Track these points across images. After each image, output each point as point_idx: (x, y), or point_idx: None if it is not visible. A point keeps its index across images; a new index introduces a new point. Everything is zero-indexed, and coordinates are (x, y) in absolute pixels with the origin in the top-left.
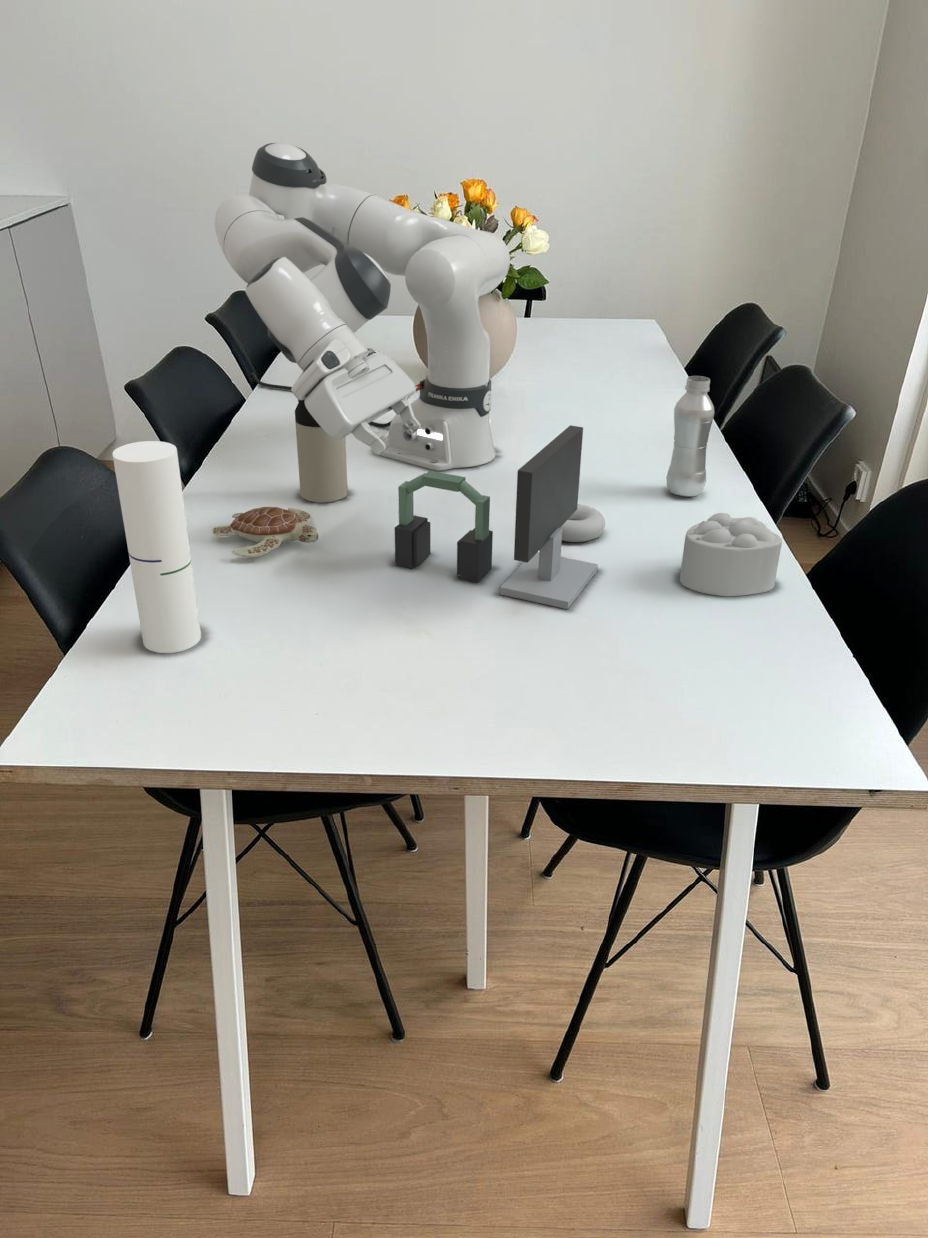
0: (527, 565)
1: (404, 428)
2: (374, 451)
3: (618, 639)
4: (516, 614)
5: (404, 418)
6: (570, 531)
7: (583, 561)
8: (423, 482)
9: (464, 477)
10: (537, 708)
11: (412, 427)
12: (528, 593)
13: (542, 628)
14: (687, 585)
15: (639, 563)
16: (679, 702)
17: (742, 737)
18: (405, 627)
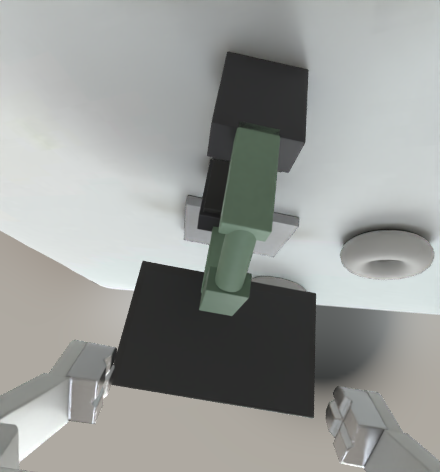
0: None
1: (351, 412)
2: (64, 351)
3: (156, 248)
4: (153, 206)
5: (399, 462)
6: (342, 256)
7: (277, 251)
8: (208, 274)
9: (229, 315)
10: (29, 215)
11: (333, 419)
12: (185, 221)
13: (140, 219)
14: (256, 278)
15: (298, 267)
16: (104, 258)
17: (94, 267)
18: (35, 118)
